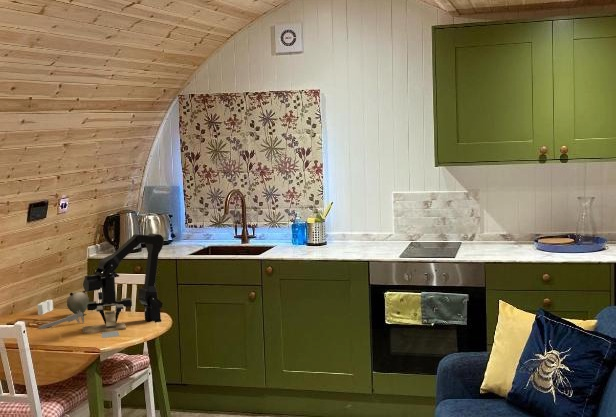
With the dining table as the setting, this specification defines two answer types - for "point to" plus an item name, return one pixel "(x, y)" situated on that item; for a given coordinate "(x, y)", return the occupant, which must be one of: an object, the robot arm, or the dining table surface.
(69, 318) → the caliper
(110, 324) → the block
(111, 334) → the mat
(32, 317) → the dining table surface
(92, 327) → the oak board
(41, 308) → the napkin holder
